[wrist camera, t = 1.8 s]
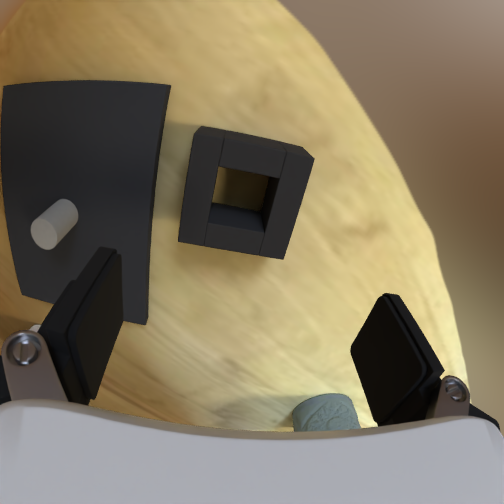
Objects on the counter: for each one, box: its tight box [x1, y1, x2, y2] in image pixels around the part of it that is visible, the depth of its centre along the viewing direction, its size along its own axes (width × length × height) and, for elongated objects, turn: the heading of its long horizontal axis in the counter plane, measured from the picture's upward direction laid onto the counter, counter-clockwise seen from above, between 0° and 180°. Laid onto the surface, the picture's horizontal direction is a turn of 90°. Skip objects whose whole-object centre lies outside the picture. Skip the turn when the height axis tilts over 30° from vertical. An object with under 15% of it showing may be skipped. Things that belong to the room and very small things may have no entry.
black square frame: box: [178, 126, 314, 260], centre depth 19 cm, size 7×7×4 cm
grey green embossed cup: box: [293, 394, 361, 432], centre depth 32 cm, size 10×10×12 cm
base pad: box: [1, 80, 171, 325], centre depth 19 cm, size 20×14×5 cm
